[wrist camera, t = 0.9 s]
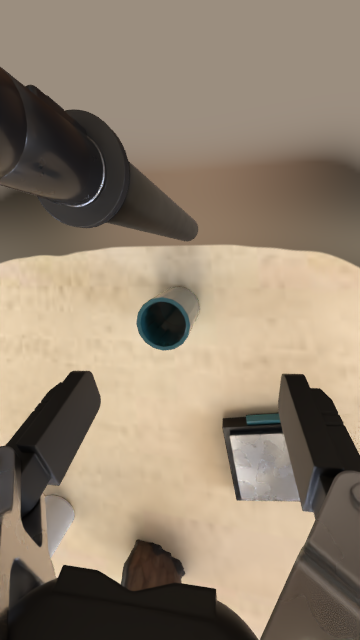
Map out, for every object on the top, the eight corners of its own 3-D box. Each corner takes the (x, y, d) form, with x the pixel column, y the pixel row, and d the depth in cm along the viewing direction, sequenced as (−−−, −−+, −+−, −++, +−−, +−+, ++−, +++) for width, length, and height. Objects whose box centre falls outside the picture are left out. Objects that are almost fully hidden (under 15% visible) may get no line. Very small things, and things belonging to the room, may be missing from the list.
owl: (132, 534, 55) (81, 682, 36) (189, 545, 53) (165, 710, 34) (136, 574, 58) (91, 730, 39) (189, 587, 56) (169, 758, 37)
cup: (154, 290, 40) (130, 302, 30) (195, 282, 38) (183, 293, 29) (163, 330, 41) (143, 353, 32) (203, 324, 40) (194, 346, 30)
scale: (222, 415, 43) (221, 427, 40) (316, 409, 40) (323, 422, 37) (236, 488, 47) (236, 504, 44) (324, 488, 43) (331, 506, 40)
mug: (79, 524, 58) (46, 584, 47) (48, 523, 60) (10, 580, 49) (63, 481, 55) (24, 535, 45) (31, 482, 57) (-13, 533, 47)
